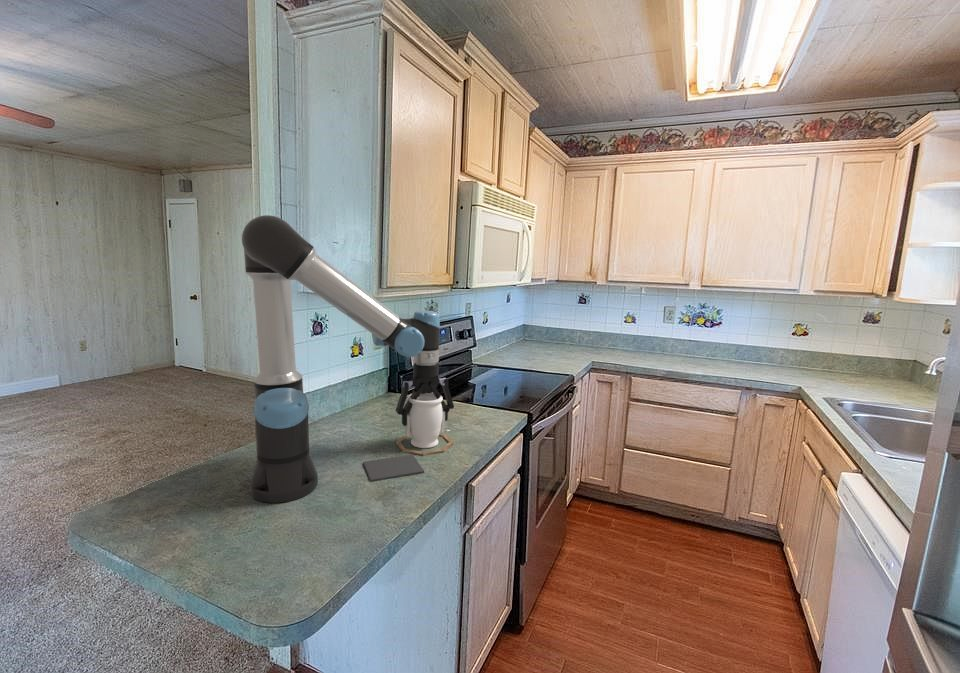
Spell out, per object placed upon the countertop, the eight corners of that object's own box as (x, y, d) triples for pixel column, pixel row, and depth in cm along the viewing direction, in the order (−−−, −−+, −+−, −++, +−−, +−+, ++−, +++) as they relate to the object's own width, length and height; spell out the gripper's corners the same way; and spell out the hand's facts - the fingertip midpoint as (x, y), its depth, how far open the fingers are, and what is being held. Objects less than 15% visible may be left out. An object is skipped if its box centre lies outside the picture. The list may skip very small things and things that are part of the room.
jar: (400, 445, 138) (400, 397, 135) (420, 434, 147) (421, 389, 144) (429, 453, 133) (430, 404, 130) (448, 441, 142) (449, 395, 140)
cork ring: (405, 458, 129) (405, 456, 129) (392, 436, 144) (392, 435, 144) (459, 450, 136) (459, 448, 136) (441, 430, 151) (441, 429, 151)
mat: (371, 481, 115) (371, 479, 115) (363, 463, 125) (363, 461, 125) (424, 472, 121) (424, 471, 121) (412, 455, 131) (412, 454, 131)
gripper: (391, 368, 128) (390, 442, 131) (466, 363, 137) (464, 432, 141) (385, 362, 134) (384, 433, 138) (457, 357, 144) (455, 424, 147)
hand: (424, 432), depth 139 cm, fingers open, 10 cm apart
